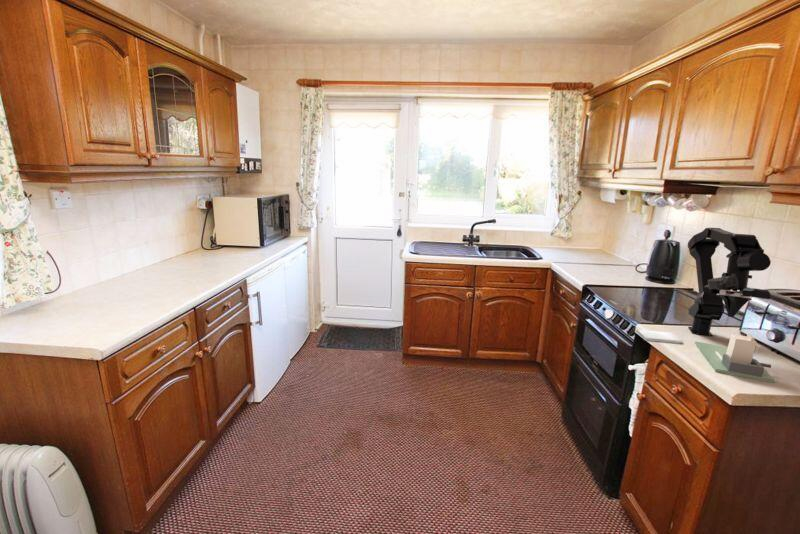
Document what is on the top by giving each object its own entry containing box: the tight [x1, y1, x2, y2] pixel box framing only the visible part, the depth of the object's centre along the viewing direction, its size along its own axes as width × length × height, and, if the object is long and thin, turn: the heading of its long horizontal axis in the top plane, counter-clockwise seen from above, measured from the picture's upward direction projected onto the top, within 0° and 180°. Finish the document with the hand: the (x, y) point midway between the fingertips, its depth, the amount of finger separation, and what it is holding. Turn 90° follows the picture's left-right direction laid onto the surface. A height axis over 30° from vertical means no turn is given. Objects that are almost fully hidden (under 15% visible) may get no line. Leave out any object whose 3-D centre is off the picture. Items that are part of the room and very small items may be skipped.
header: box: [721, 354, 765, 377], centre depth 116 cm, size 6×8×3 cm
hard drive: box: [635, 329, 684, 344], centre depth 141 cm, size 2×8×12 cm
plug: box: [726, 333, 772, 369], centre depth 118 cm, size 4×10×10 cm, turn 66°
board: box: [694, 341, 776, 383], centre depth 124 cm, size 22×14×2 cm, turn 156°
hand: (730, 316), depth 128 cm, fingers closed
